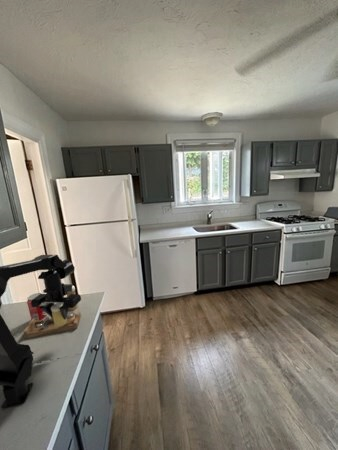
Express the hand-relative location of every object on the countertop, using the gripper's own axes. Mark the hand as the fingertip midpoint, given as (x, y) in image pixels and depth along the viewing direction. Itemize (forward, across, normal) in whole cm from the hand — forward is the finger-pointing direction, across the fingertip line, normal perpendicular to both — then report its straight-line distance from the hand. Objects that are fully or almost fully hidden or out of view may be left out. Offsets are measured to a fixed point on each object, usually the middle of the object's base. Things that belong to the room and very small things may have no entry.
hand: (59, 318), depth 83 cm
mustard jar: (+2, 0, 0) cm, 2 cm away
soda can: (+12, +25, -15) cm, 32 cm away
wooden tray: (+12, +11, -9) cm, 19 cm away
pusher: (+11, +16, -7) cm, 21 cm away
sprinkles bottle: (+12, +11, -23) cm, 29 cm away
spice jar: (+11, +5, -11) cm, 16 cm away
